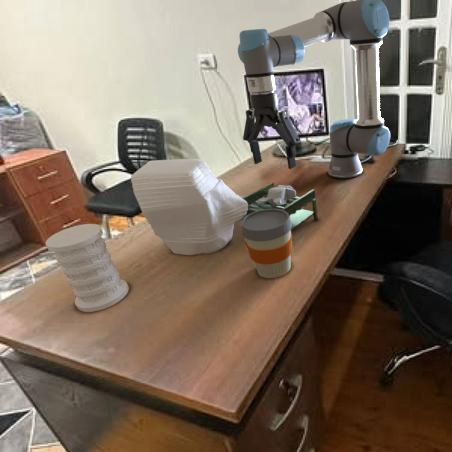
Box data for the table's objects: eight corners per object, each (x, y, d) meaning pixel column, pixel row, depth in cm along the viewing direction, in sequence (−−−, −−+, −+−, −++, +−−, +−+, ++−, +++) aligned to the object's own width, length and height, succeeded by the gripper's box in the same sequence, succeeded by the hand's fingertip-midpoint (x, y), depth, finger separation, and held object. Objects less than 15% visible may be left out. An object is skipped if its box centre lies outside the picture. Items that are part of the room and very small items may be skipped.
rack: (276, 210, 127) (271, 182, 122) (318, 219, 118) (314, 189, 113) (245, 230, 115) (239, 199, 110) (289, 241, 107) (284, 209, 101)
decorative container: (131, 299, 87) (103, 236, 78) (76, 319, 82) (41, 254, 73) (126, 277, 96) (101, 218, 87) (77, 293, 90) (45, 233, 82)
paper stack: (180, 229, 119) (157, 155, 107) (255, 231, 114) (240, 154, 102) (140, 265, 101) (107, 181, 88) (228, 268, 96) (205, 180, 84)
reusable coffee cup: (256, 256, 100) (247, 209, 93) (299, 254, 100) (293, 207, 93) (245, 283, 89) (233, 232, 82) (294, 281, 89) (286, 229, 82)
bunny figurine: (300, 183, 116) (281, 195, 103) (301, 197, 118) (283, 212, 105) (274, 181, 119) (253, 194, 106) (276, 196, 121) (254, 210, 108)
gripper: (221, 94, 101) (237, 164, 111) (290, 95, 89) (300, 173, 99) (240, 90, 107) (253, 157, 117) (306, 90, 95) (314, 165, 105)
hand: (274, 165), depth 108 cm, fingers open, 13 cm apart
